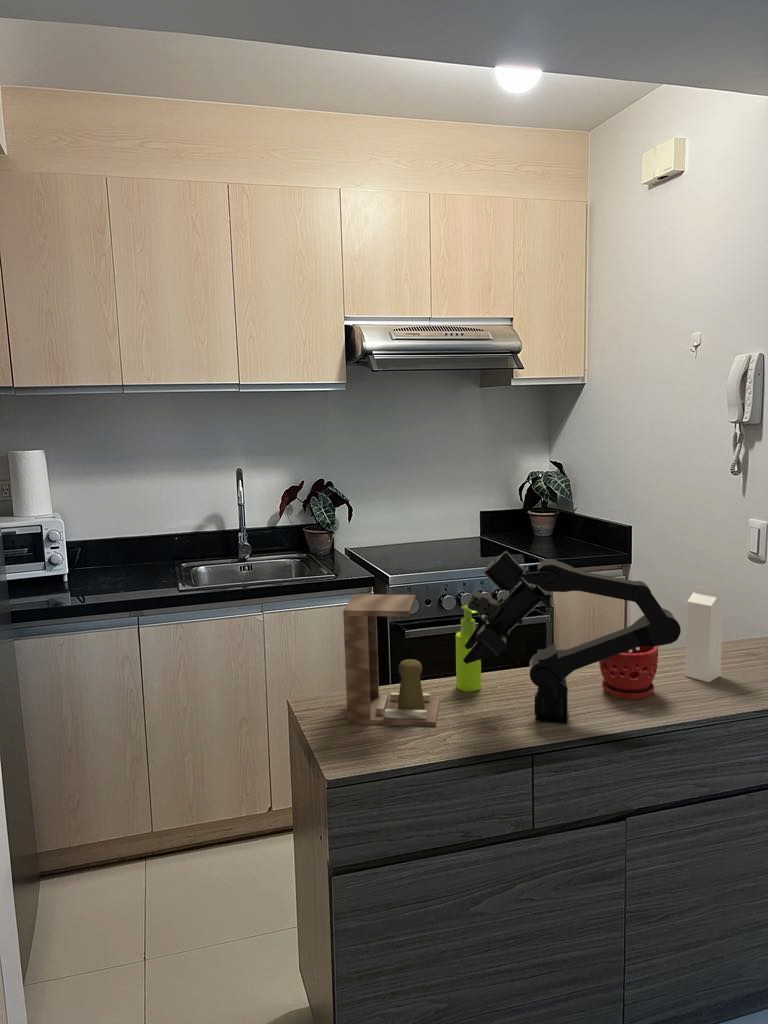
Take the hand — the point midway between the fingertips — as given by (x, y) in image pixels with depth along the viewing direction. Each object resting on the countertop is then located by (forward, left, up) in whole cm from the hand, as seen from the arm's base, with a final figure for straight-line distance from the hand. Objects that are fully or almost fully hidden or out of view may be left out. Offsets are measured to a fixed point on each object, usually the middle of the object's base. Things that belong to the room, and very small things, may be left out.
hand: (465, 654), depth 164 cm
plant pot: (-34, -19, -14) cm, 42 cm away
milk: (-52, -33, -14) cm, 64 cm away
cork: (+12, +2, -13) cm, 18 cm away
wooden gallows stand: (+16, +2, -14) cm, 21 cm away
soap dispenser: (+2, -15, -14) cm, 21 cm away
